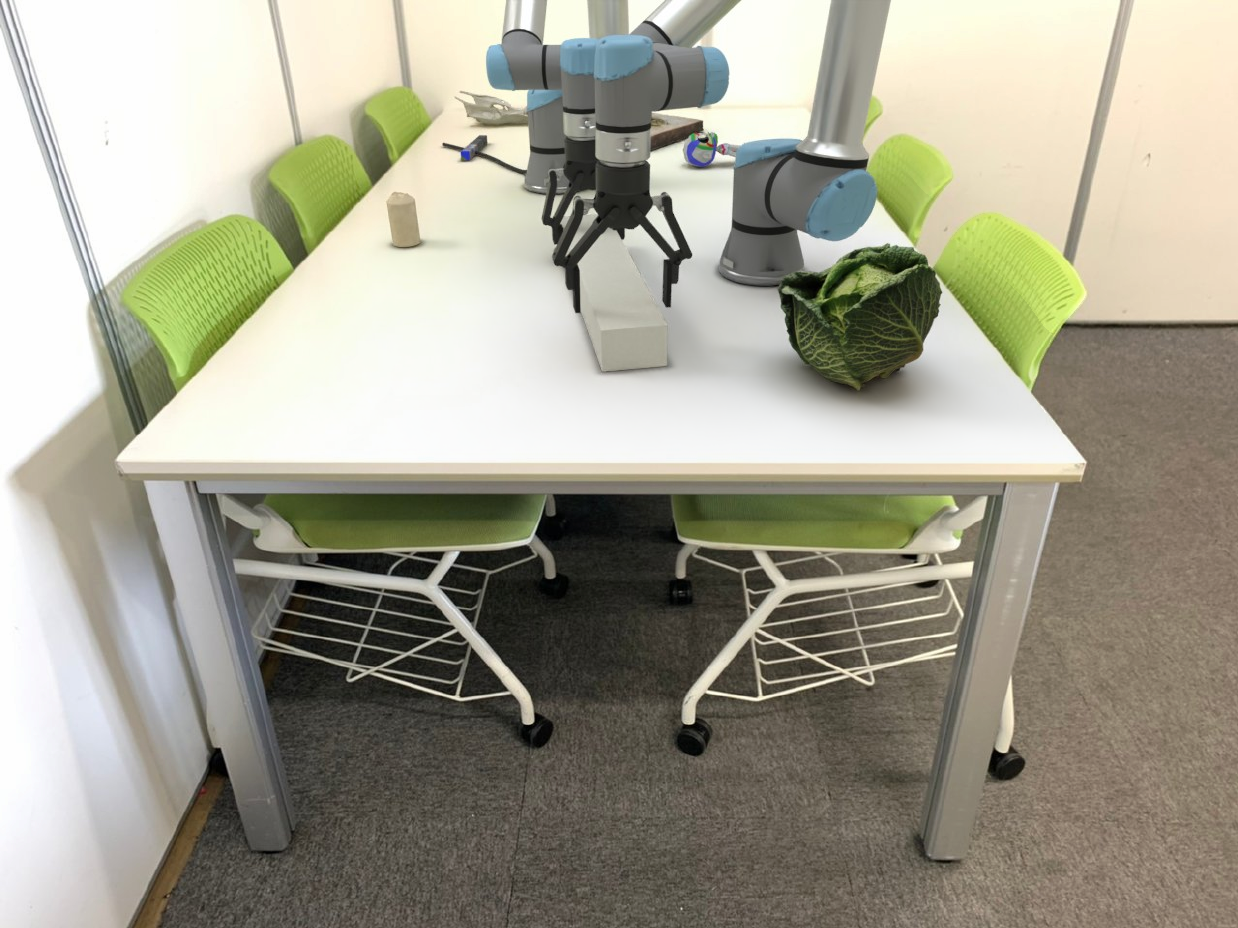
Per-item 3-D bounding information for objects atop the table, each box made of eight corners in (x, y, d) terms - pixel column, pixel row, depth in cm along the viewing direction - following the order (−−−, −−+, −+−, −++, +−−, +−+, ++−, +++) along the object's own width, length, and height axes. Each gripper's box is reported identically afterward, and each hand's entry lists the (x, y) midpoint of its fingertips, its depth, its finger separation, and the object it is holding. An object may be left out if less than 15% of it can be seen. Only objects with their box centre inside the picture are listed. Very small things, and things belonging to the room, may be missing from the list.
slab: (559, 249, 176) (557, 216, 173) (608, 246, 177) (607, 213, 174) (602, 372, 130) (600, 330, 127) (667, 366, 132) (667, 324, 128)
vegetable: (807, 399, 136) (749, 288, 129) (909, 328, 138) (857, 214, 130) (877, 433, 118) (813, 305, 110) (993, 351, 119) (938, 219, 112)
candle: (425, 240, 182) (419, 190, 176) (411, 248, 177) (404, 198, 172) (401, 237, 183) (394, 188, 178) (387, 246, 179) (379, 195, 174)
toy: (807, 147, 224) (690, 133, 219) (799, 181, 228) (684, 168, 224) (796, 138, 233) (684, 124, 228) (789, 171, 237) (678, 158, 232)
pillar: (486, 135, 252) (468, 152, 235) (487, 143, 253) (468, 161, 236) (479, 135, 252) (460, 152, 236) (480, 143, 253) (461, 160, 237)
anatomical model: (463, 88, 279) (541, 86, 276) (467, 119, 284) (543, 118, 281) (448, 97, 267) (529, 96, 263) (453, 130, 272) (532, 129, 268)
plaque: (647, 125, 237) (559, 112, 252) (647, 153, 241) (560, 139, 256) (706, 107, 258) (622, 97, 273) (705, 133, 262) (622, 121, 277)
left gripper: (523, 144, 153) (532, 269, 165) (651, 137, 156) (651, 260, 168) (520, 134, 160) (528, 256, 172) (643, 128, 163) (643, 247, 175)
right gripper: (534, 170, 118) (541, 321, 129) (718, 164, 121) (709, 311, 132) (529, 157, 124) (536, 302, 135) (704, 151, 128) (697, 293, 139)
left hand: (589, 258), depth 170 cm, fingers closed on slab, 10 cm apart
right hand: (622, 307), depth 134 cm, fingers open, 13 cm apart
